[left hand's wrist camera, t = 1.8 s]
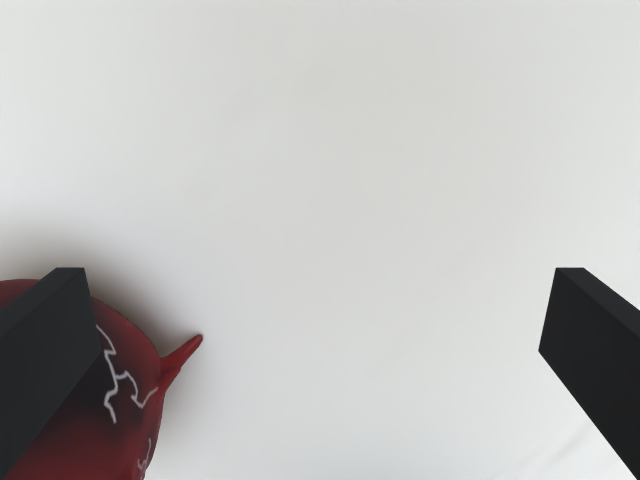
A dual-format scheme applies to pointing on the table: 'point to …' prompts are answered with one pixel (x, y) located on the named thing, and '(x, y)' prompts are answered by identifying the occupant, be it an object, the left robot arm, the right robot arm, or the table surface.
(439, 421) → the table surface
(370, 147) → the table surface
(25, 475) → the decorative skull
